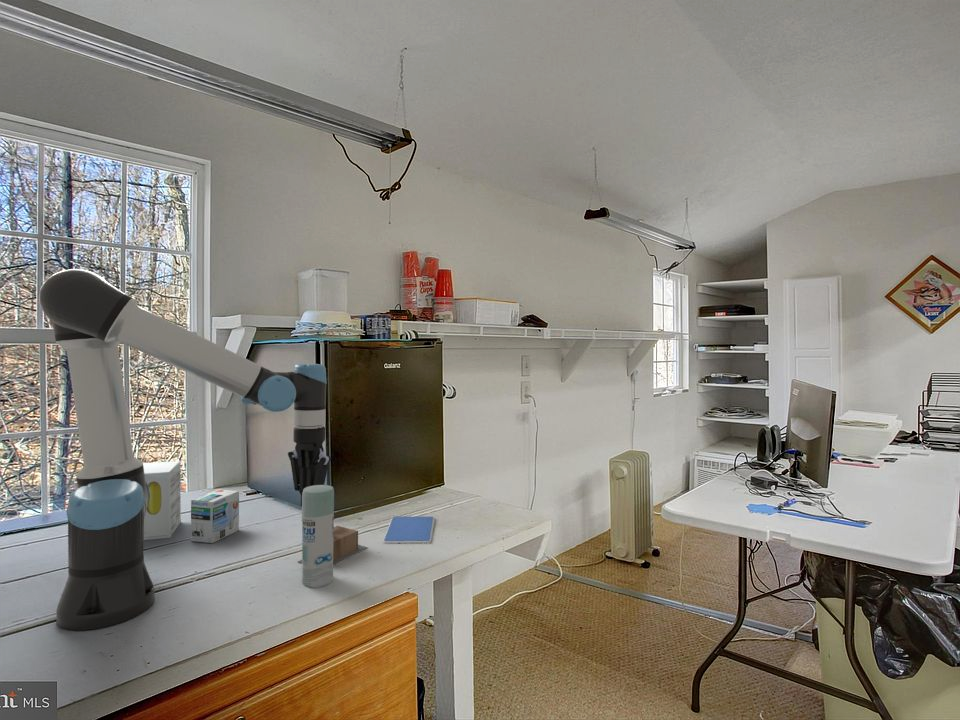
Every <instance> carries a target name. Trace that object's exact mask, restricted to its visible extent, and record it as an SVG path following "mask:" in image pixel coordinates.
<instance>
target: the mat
mask: <svg viewBox="0 0 960 720" xmlns="http://www.w3.org/2000/svg"><path fill="white" fill-rule="evenodd" d="M366 549H369V547H367V546H365V545H361V544H358V549H357V550H355V551H352V552H350V553H348V554H346V555H344V556H342V557H340V558H338V559H336V560H334V561H333V566H334V565H336V564H337V563H339V562H342V561H344V560H346V559H348V558H349V557H352V556H354V555H356V554H358V553H360V552H362V551H364V550H366ZM297 563H299V564H302V559H300V560H298V561H297Z"/></svg>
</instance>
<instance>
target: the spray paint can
mask: <svg viewBox="0 0 960 720" xmlns="http://www.w3.org/2000/svg"><path fill="white" fill-rule="evenodd" d="M334 510H335V490H334V487H333V486H331V485H328V484H324V485H314V486H309V487H306V488H304V489H303V493H302V507H301V524H302V527H301V528H302V530H301V531H302V533H301V534H302V537H301V538H302V539H301V541H302V544H301V545H302V549H301V550H302V552H301V553H302V557H301V560H302V563H301V564H302V566H301V567H302V572H301V573H302V576H301V577H302V580H301V581H302V584H303V586H305V587H308V588H314V589H315V588H321V587H326V586H327V585H329V584H331V583H332V582H333V578H334V565H333V534H334V527H335V525H334V524H335V523H334V522H335V514H334V513H335V511H334Z"/></svg>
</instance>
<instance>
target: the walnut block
mask: <svg viewBox="0 0 960 720" xmlns="http://www.w3.org/2000/svg"><path fill="white" fill-rule="evenodd" d="M358 545H359V530H355V529H352V528H348V527H345V526H344V527H343V526H340V525H336V526H335V525H334V534H333V561H334V560H336V559H338V558H340V557H342V556H344V555H346V554H348V553H350V552H352V551H355V550H357V549H358Z"/></svg>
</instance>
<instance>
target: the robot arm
mask: <svg viewBox="0 0 960 720" xmlns="http://www.w3.org/2000/svg"><path fill="white" fill-rule="evenodd" d="M38 300H39V301H38V302H39V305H40V308H41V310H42V311H43V314H44V315H45V316H46V317H47V318H48V320H50V321H51V322H52V326H53V327H52V328H53V333H54V338H55V339H54V340H55V344H57V345H58V346H61V348H62V349H64V350H66V355H67V362H68V368H69V373H70V374H69V375H70V382H71V386H72V387H71V388H72V394H73V395H72V396H73V401H74V407H75V408H74V409H75V416H76V421H77V427H78V429H77V430H78V433H79V434H78V435H79V436H78V437H79V440H80V441H79V442H80V448H81V455H82V461H83V467H82V468H81V469H80V470H79V471H78V472H77V474H75V477H76V479H75V480H76V486H77V489H76V490H74V491H73V492H72V493H71V494H70V496H69V498H68V501H67V502H68V504H67V507H66V518H67V546H68V547H67V548H68V550H67V555H68V556H67V557H68V560H67V563H68V564H67V565H68V566H67V567H68V570H67V572H68V576H67V580H66V582H65V586H64V587H63V590H62V594H61V596H60V598H59V601H58V604H57V607H56V624H57V626H59V627H60V628H62V629H64V630H69V631H70V630H71V631H88V630H95V629H102V628H105V627H111V626H113V625H117V624H120V623H123V622H125V621H128V620H130V619H132V618H135V617H136V616H139V615H140V614H143V613H144V612H146V610H148V609H149V608H150V607H151V606H152V605H153V604H154V602H155V586H154V583H153V581H152V579H151V576H150V574H149V573H150V572H148V571H149V570H148V569H147V566H146V564H145V559H144V558H145V557H144V556H145V553H144V549H145V548H144V547H145V545H144V543H145V542H144V541H145V540H144V518H145V514H146V509H147V507H148V504H149V500H150V490H149V487H148V486H147V483H146V481H145V474H144V467H143V463H144V462H143V461H142V460H140V459H138V458H137V457H135V456H134V451H133V442H132V436H131V429H130V422H129V416H128V415H129V414H128V409H127V408H128V407H127V401H126V395H125V387H124V381H123V380H124V379H123V371H122V366H121V358H120V353H119V352H120V351H119V346H120V344H124V345H126V346H128V347H130V348H132V349H134V350H137V351H139V352H142V353H143V354H146V355H147V356H150V357H152V358H154V359H157V360H159V361H161V362H163V363H165V364H168V365H170V366H172V367H174V368H177V369H179V370H182V371H184V372H186V373H188V374H190V375H193V376H194V377H196V378H200V379H201V380H204V381H206V382H208V383H210V384H213V385H215V386H216V387H220V388H221V389H224V390H225V391H227V392H230V393H232V394H235V395H237V396H239V397H240V401H241V403H243V404H245V405H253V406H255V405H258V406H261V407H262V408H263V409H264V410H266V411H270V412H274V413H277V412H283V411H286V410H287V409H289V408H290V407H292V406H293V426H295V427H294V428H293V442H294V443H295V446H294V447H295V448H294V449H293V450H291V451H288V452H287V456H288V459H289V461H290V467H291V473H292V479H293V487H294V491H296V492H297V491H298V492H299V494H300V506H301V508H302V493H303V489H304V488H306V487H309V486H314V485H326V484H325V483H326V477H327V472H328V470H329V469H328V468H329V465H330V462H331V461H332V457H331V456H330V455H326V454H325V453H324V452H325V450H324V446H323V443H324V442H325V441H326V427H325V426H324V425H326V404H327V402H326V401H327V384H328V382H327V371H326V370H327V368H326V366H325V365H323V364H319V363H297V364H295V365H294V369H293V371H290V372H289V371H287V372H285V371H284V372H283V371H282V372H281V371H278V372H275V371H272V370H270V369H268V368H266V367H264V366H262V365H260V364H258V363H256V362H254V361H252V360H249V359H248V358H245V357H243V356H242V355H239V354H237V353H235V352H233V351H231V350H229V349H227V348H225V347H223V346H222V345H218V344H217V343H214V342H213V341H211V340H209V339H206V338H204V337H202V336H201V335H198V334H196V333H194V332H192V331H190V330H188V329H186V328H184V327H182V326H180V325H178V324H176V323H174V322H172V321H170V320H168V319H166V318H163V317H161V316H159V315H157V314H155V313H154V312H152V311H149V310H147V309H145V308H143V307H141V306H139V305H138V303H137V300H136V298H135V297H133V296H131V295H128V294H127V293H125V292H122V291H121V290H119V289H118V288H117V287H116V286H115V285H114V284H113V283H111V282H110V281H109V280H108V279H106V278H103V277H102V276H100V275H99V274H97V273H94V272H92V271H89V270H85V269H79V268H70V269H65V270H61V271H60V270H59V272H56V273H54V274H52V275H50V276H49V277H47V279H46V280H45V281H44V282H43V283H42V285H41V287H40V290H39V295H38Z"/></svg>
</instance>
